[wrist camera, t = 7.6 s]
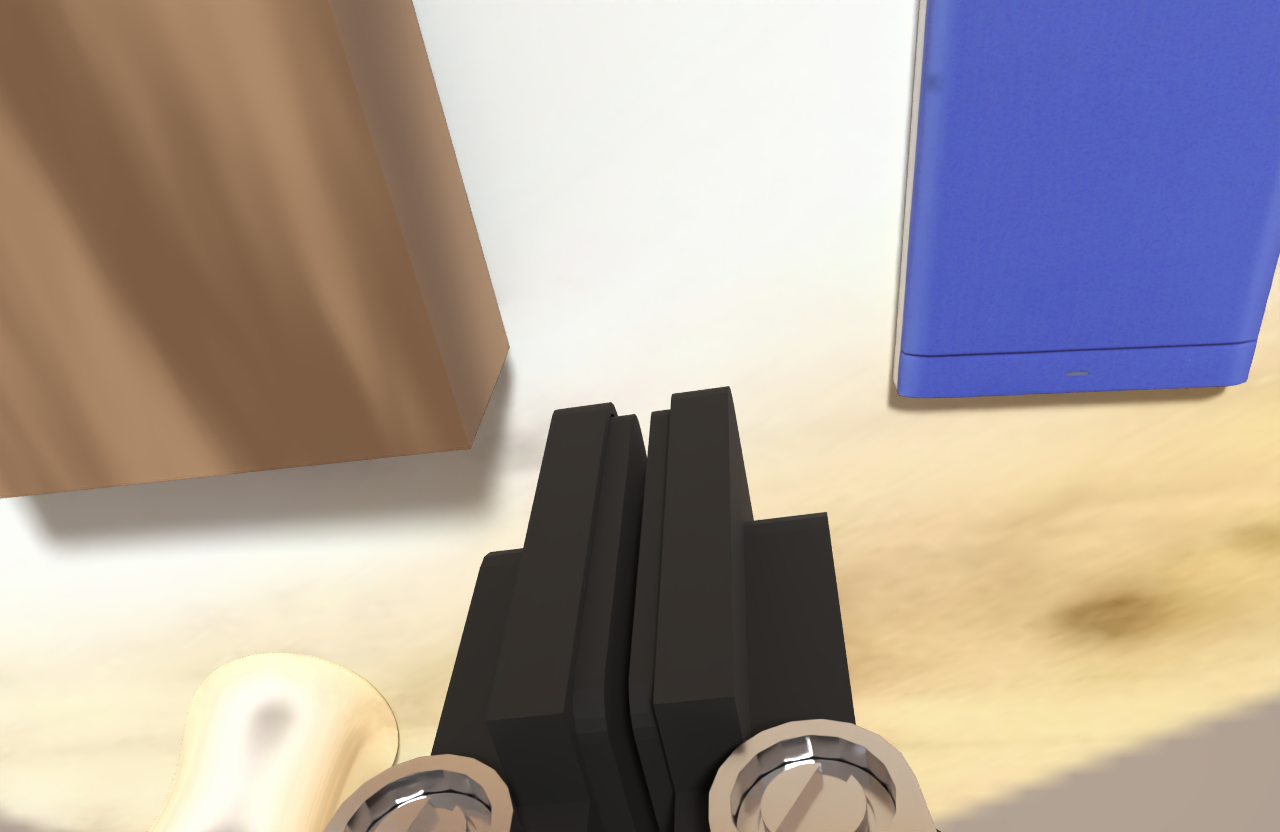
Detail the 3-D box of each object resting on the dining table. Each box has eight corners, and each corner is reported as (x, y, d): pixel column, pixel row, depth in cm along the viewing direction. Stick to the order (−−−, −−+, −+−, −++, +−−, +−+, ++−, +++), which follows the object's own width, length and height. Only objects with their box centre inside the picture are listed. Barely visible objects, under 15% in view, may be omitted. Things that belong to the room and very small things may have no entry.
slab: (296, -99, 18) (-361, 33, 20) (470, 448, 23) (-67, 505, 25) (372, -138, 21) (-198, -22, 23) (509, 347, 26) (32, 405, 28)
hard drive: (945, -189, 21) (899, 402, 28) (1410, -215, 21) (1253, 388, 28) (927, -197, 23) (888, 369, 29) (1364, -221, 22) (1225, 354, 29)
